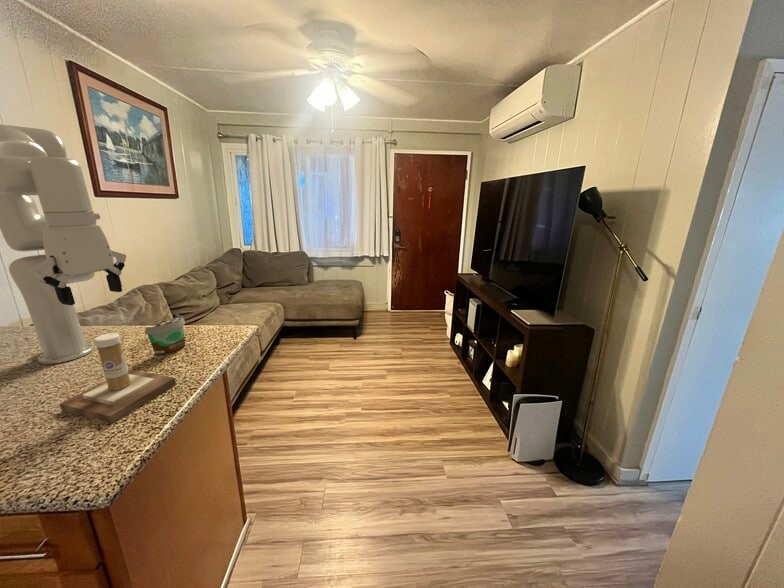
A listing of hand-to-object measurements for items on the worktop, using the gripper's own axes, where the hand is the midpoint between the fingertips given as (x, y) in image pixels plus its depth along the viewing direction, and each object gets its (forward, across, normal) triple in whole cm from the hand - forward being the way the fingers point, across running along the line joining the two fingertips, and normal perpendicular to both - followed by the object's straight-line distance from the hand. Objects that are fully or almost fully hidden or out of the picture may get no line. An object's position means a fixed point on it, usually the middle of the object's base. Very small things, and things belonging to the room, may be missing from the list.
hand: (93, 297), depth 73 cm
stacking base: (+26, 0, 0) cm, 26 cm away
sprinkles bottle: (+23, 0, 0) cm, 23 cm away
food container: (+26, -24, -10) cm, 37 cm away
